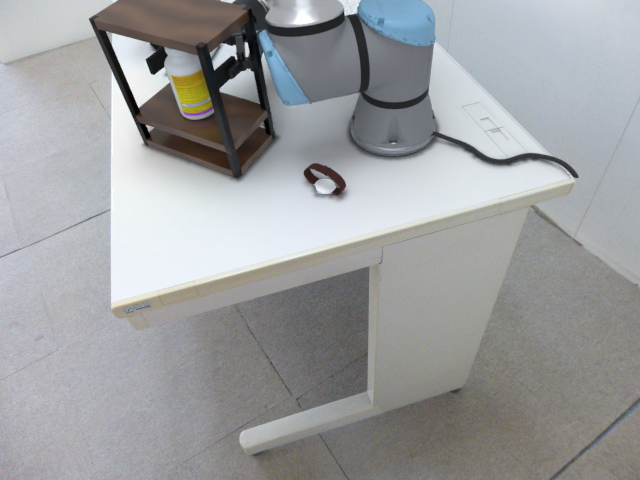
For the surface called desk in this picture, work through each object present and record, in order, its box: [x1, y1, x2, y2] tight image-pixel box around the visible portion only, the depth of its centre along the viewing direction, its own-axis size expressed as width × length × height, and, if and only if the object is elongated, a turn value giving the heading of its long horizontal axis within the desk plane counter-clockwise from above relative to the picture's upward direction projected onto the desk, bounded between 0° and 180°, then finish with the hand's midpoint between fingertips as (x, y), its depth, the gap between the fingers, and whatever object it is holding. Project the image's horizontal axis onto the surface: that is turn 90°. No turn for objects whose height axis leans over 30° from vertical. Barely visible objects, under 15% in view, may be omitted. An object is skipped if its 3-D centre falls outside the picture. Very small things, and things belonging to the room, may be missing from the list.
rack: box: [88, 0, 277, 180], centre depth 84 cm, size 12×22×24 cm, turn 60°
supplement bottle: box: [164, 47, 214, 120], centre depth 84 cm, size 7×7×13 cm
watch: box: [303, 162, 347, 196], centre depth 82 cm, size 8×5×4 cm
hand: (179, 76), depth 81 cm, fingers open, 12 cm apart
